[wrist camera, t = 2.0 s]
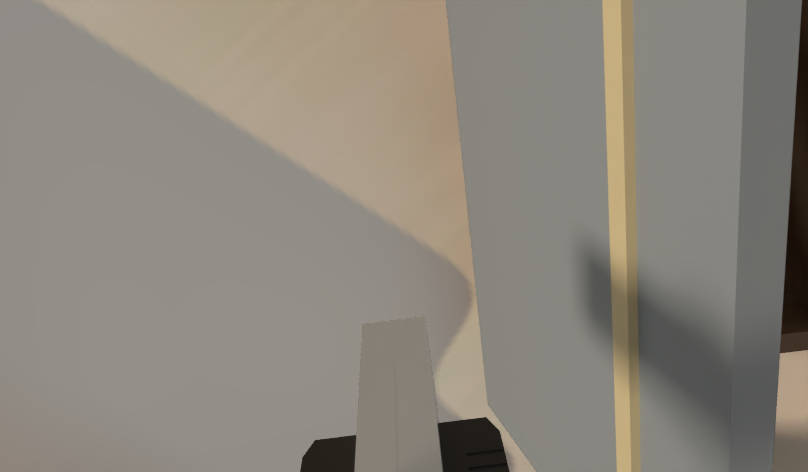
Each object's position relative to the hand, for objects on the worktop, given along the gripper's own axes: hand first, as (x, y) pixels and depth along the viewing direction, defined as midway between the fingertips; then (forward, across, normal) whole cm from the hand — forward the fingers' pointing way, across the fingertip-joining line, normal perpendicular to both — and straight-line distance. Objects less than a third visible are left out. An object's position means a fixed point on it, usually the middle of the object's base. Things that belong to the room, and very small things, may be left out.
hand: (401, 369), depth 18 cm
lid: (+7, +6, 0) cm, 9 cm away
